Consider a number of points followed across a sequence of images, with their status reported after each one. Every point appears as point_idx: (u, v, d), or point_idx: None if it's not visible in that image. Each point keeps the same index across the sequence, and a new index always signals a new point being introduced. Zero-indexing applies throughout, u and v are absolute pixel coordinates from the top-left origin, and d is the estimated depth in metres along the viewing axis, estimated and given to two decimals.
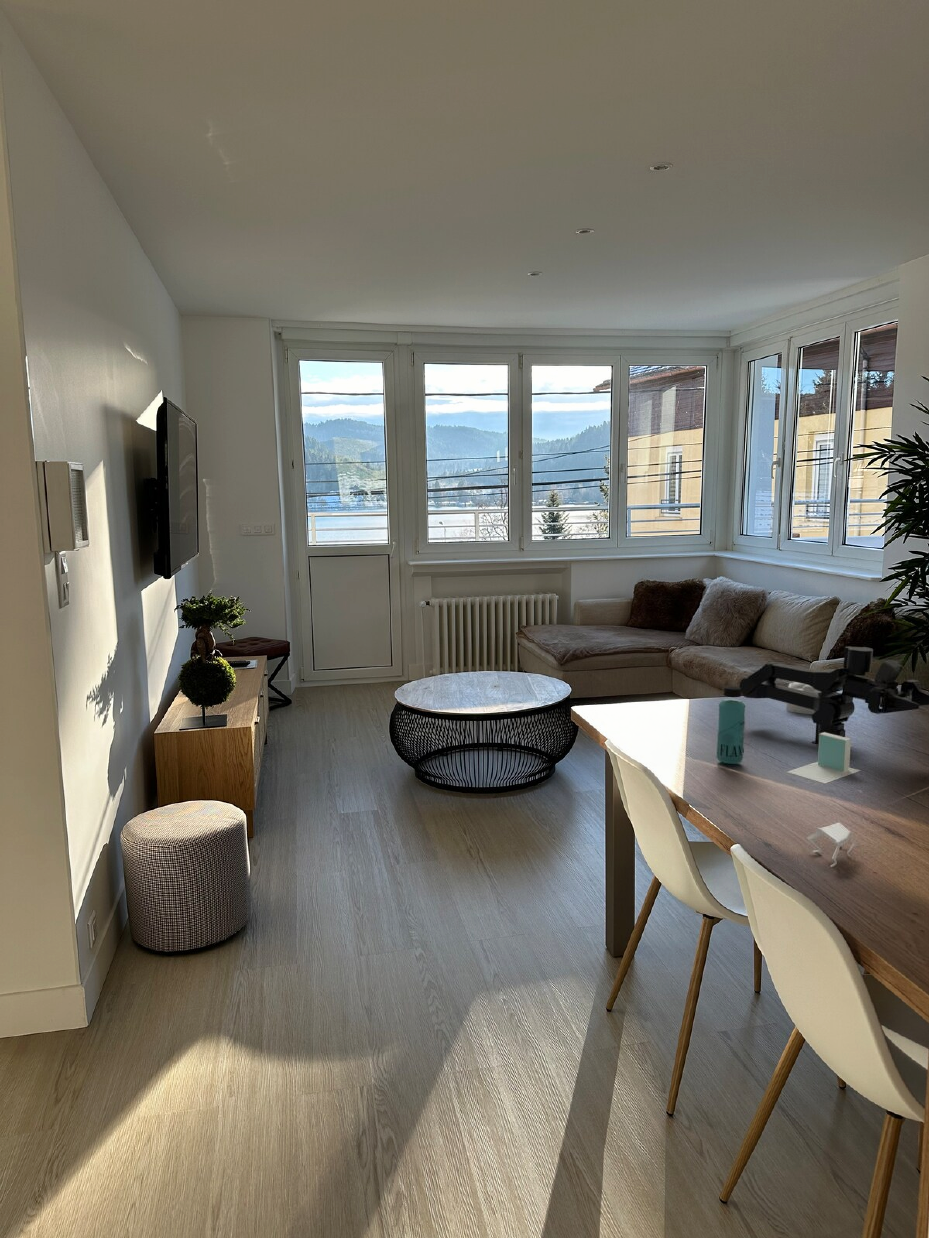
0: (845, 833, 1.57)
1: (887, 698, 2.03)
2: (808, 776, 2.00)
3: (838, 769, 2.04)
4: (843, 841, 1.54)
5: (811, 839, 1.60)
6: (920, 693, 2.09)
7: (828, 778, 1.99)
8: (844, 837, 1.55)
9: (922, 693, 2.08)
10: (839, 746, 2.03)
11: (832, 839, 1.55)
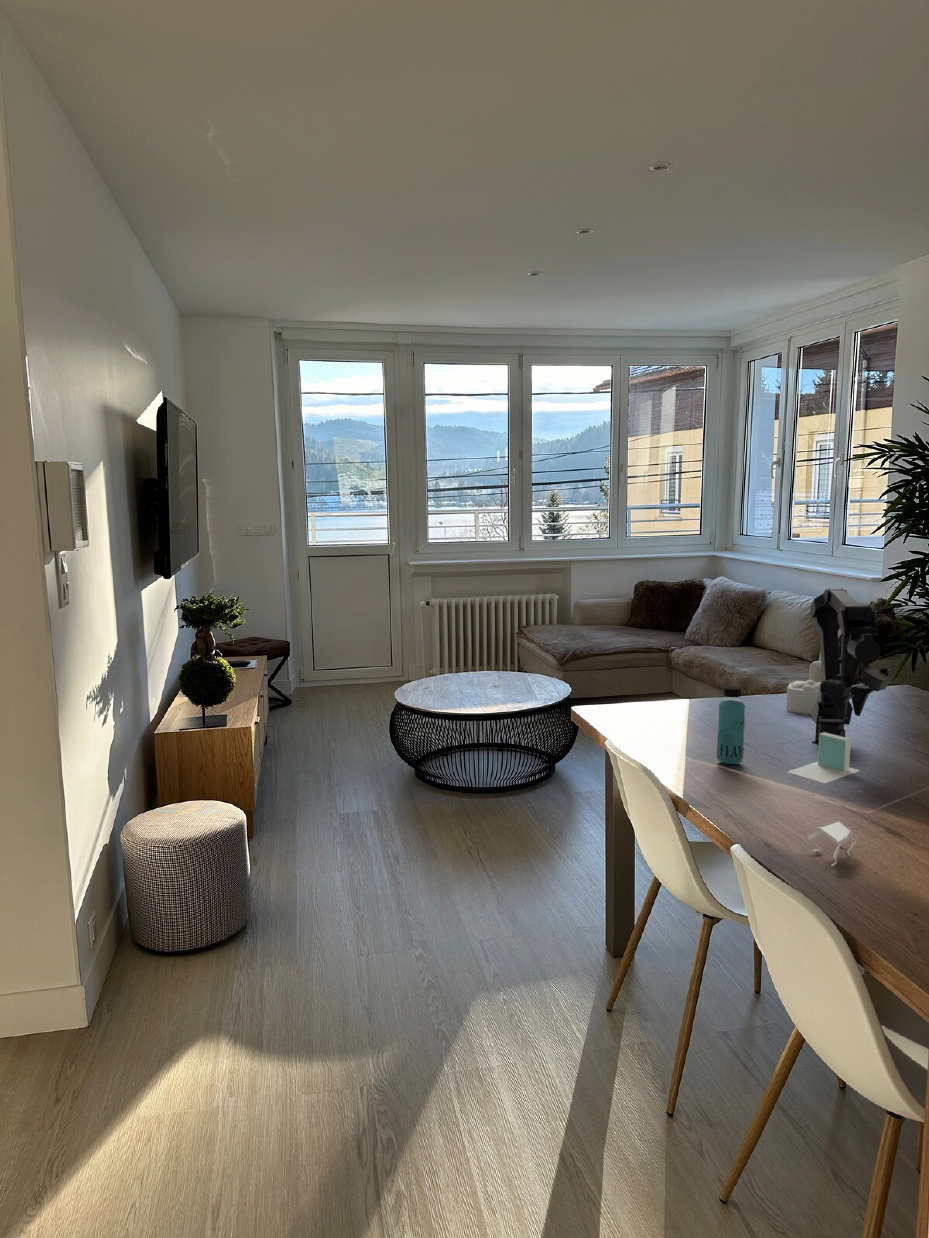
0: (845, 832, 1.57)
1: None
2: (808, 776, 2.00)
3: (838, 769, 2.04)
4: (843, 840, 1.54)
5: (811, 838, 1.60)
6: (863, 696, 2.08)
7: (828, 778, 1.99)
8: (845, 837, 1.55)
9: (863, 699, 2.08)
10: (839, 746, 2.03)
11: (832, 838, 1.55)
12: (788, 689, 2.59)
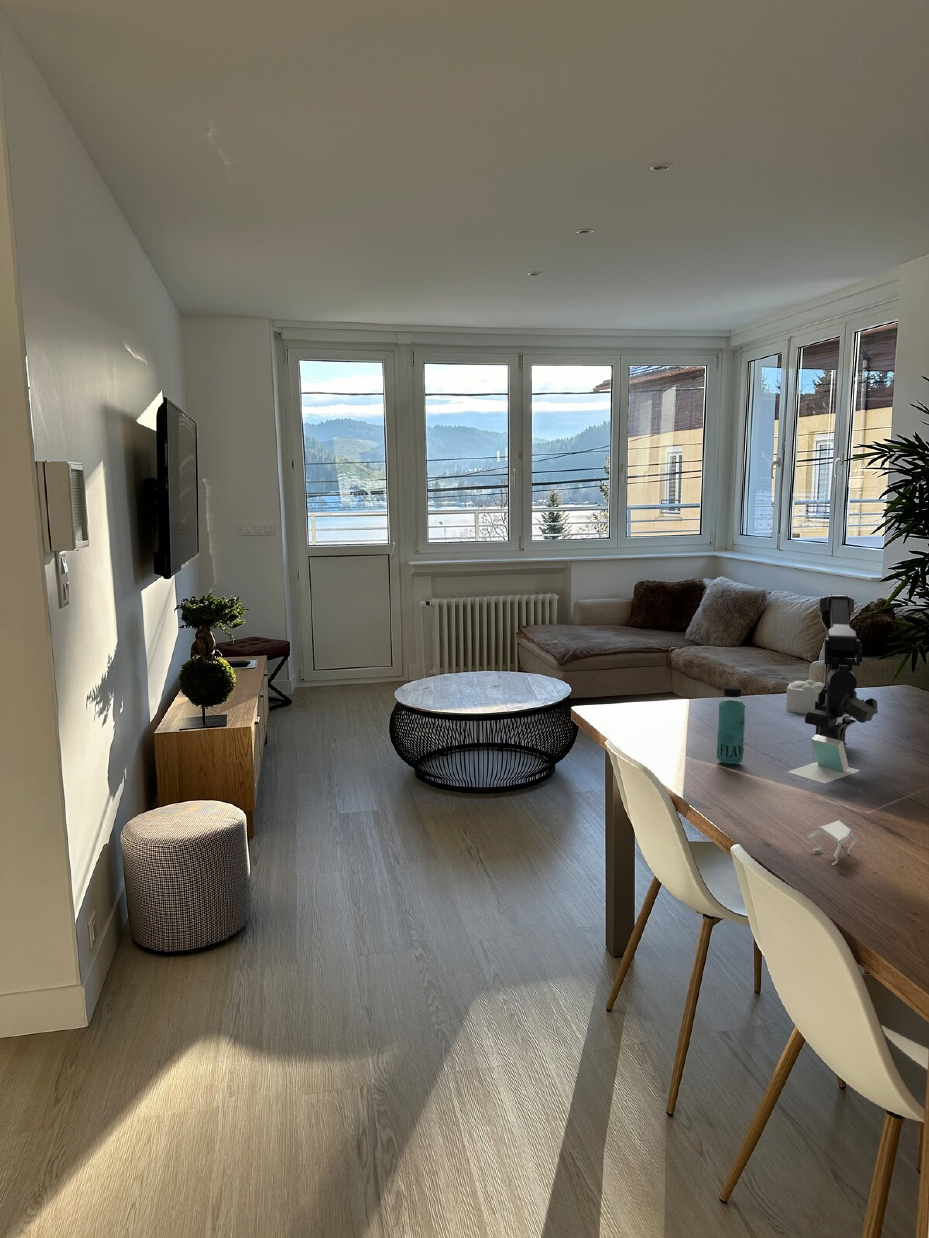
0: (846, 831, 1.57)
1: None
2: (808, 776, 2.00)
3: (838, 769, 2.03)
4: (844, 839, 1.55)
5: (812, 837, 1.61)
6: (841, 729, 2.04)
7: (828, 778, 1.99)
8: (845, 835, 1.56)
9: (841, 731, 2.04)
10: (833, 750, 2.01)
11: (833, 837, 1.56)
12: (788, 689, 2.59)
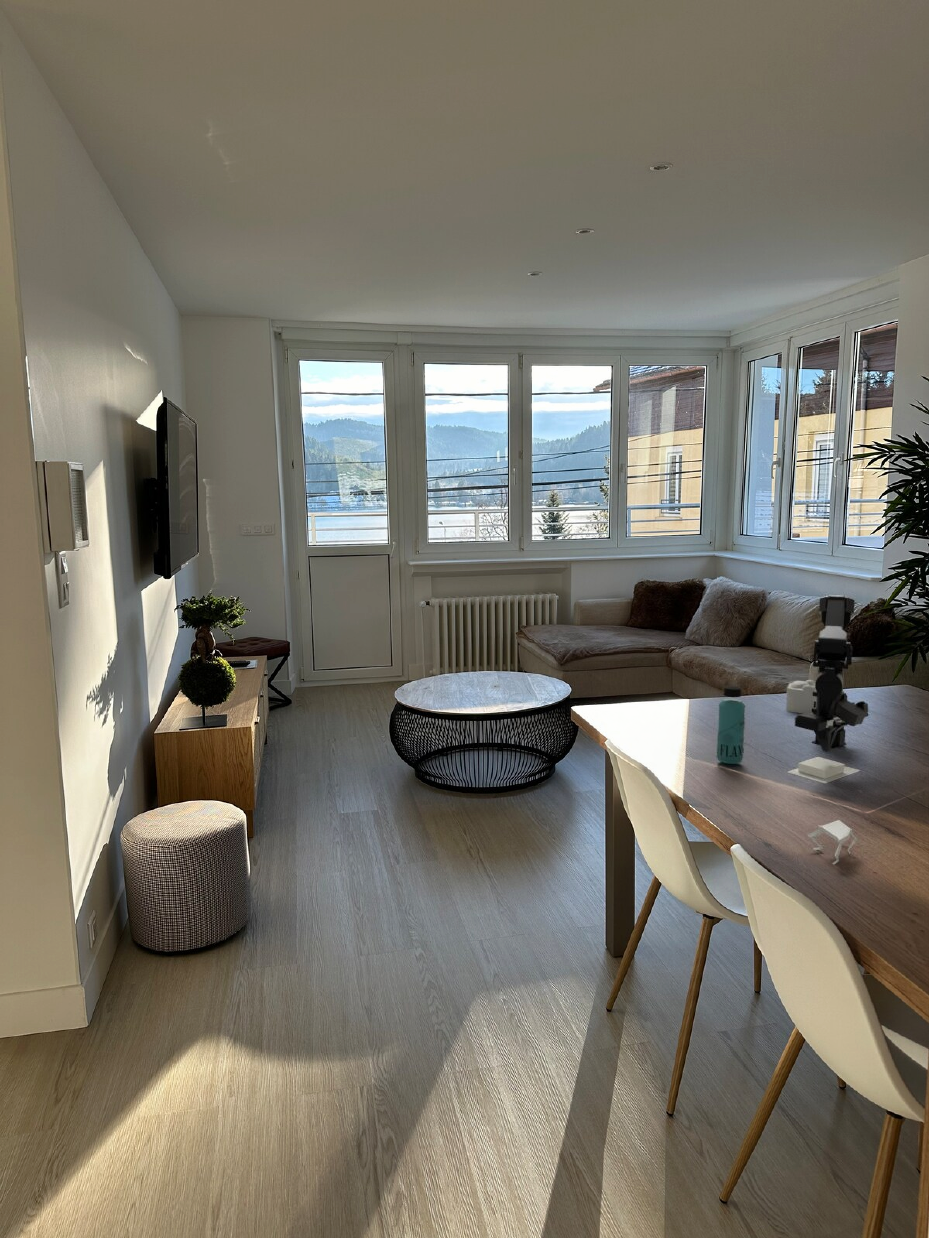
0: (846, 830, 1.58)
1: None
2: (808, 776, 2.00)
3: None
4: (845, 838, 1.55)
5: (812, 837, 1.61)
6: (832, 732, 2.02)
7: (828, 778, 1.99)
8: (846, 835, 1.56)
9: (832, 735, 2.02)
10: None
11: (834, 837, 1.56)
12: (788, 689, 2.59)
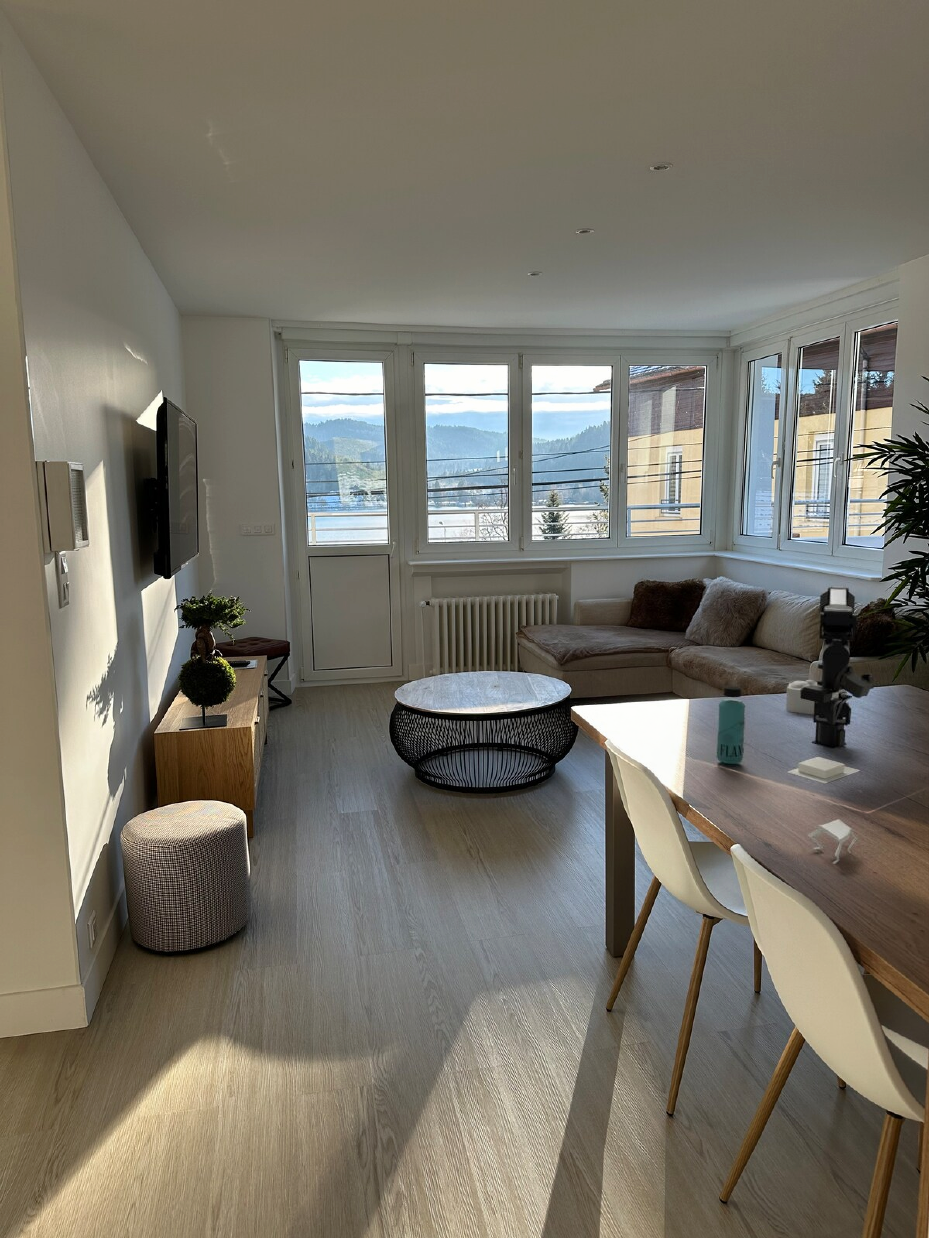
0: (846, 830, 1.58)
1: None
2: (808, 776, 2.00)
3: None
4: (845, 838, 1.55)
5: (812, 836, 1.61)
6: (837, 704, 2.02)
7: (828, 778, 1.99)
8: (846, 834, 1.56)
9: (837, 707, 2.02)
10: None
11: (834, 836, 1.56)
12: (788, 689, 2.59)
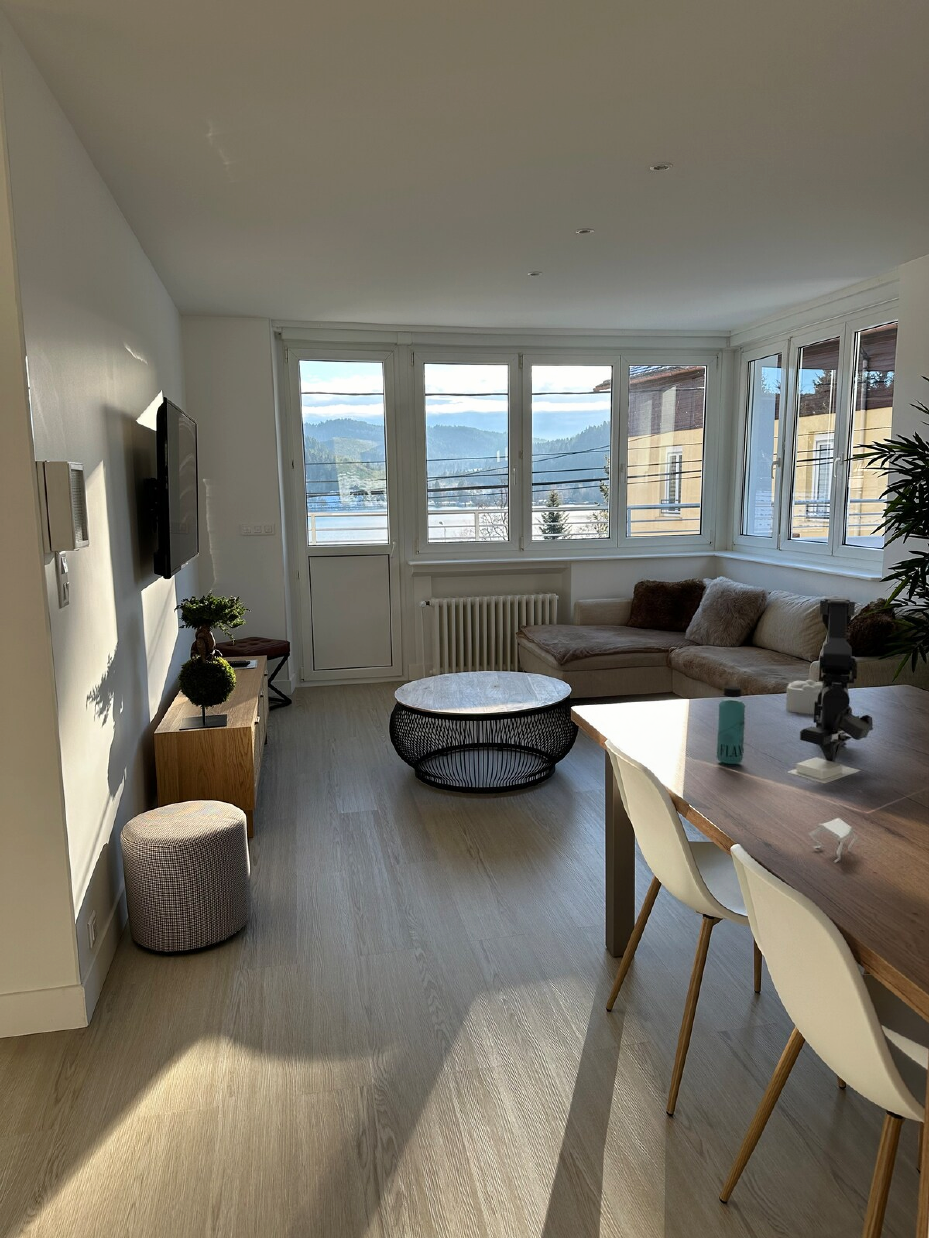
0: (846, 828, 1.59)
1: None
2: (808, 776, 2.00)
3: None
4: (846, 836, 1.56)
5: (813, 835, 1.62)
6: (836, 745, 2.04)
7: (828, 778, 1.99)
8: (847, 833, 1.57)
9: (836, 748, 2.04)
10: None
11: (835, 835, 1.57)
12: (788, 689, 2.59)
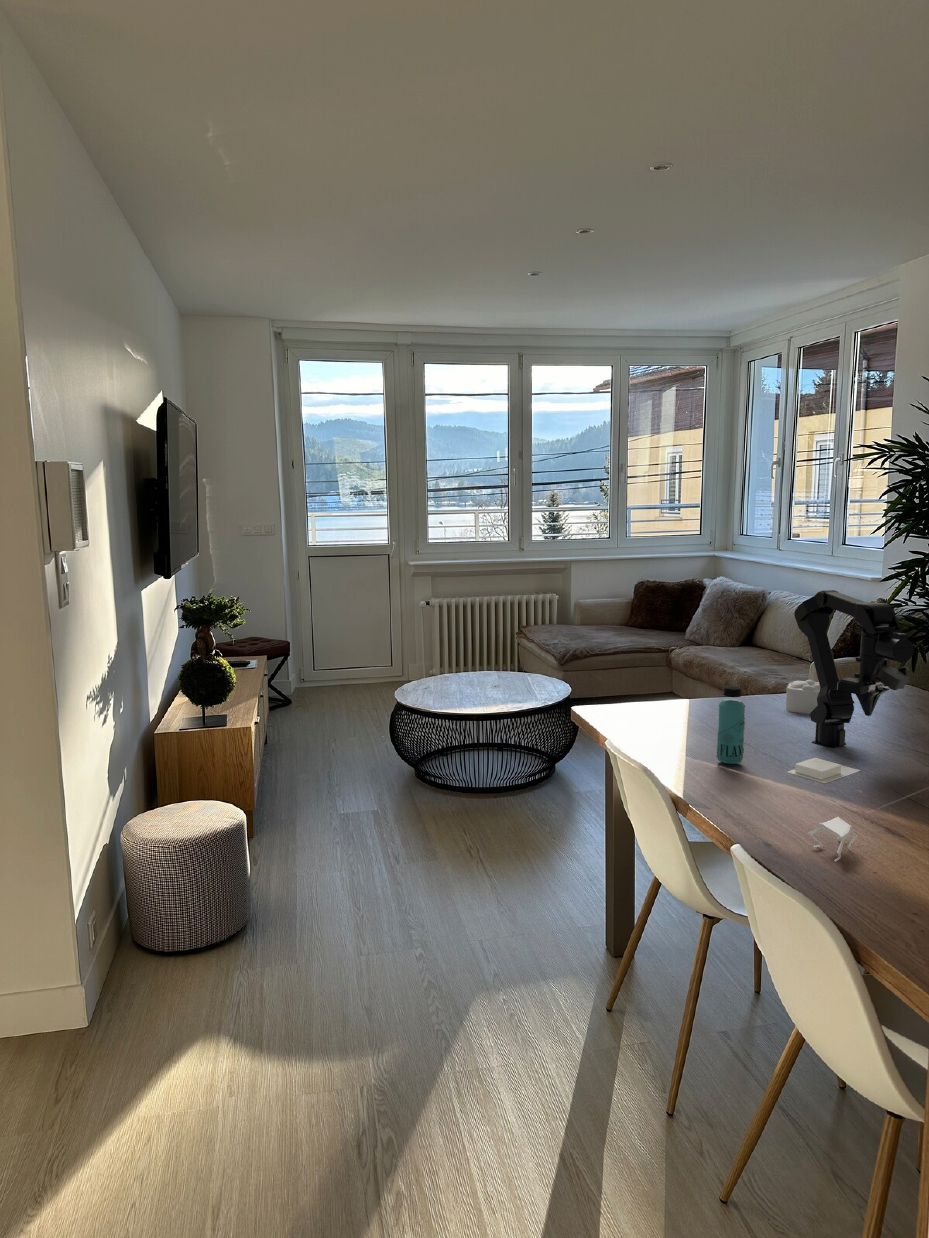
0: (846, 827, 1.59)
1: None
2: (808, 776, 2.00)
3: None
4: (846, 835, 1.56)
5: (813, 834, 1.62)
6: (874, 696, 2.09)
7: (828, 778, 1.99)
8: (847, 832, 1.57)
9: (874, 699, 2.09)
10: None
11: (835, 834, 1.57)
12: (788, 689, 2.59)
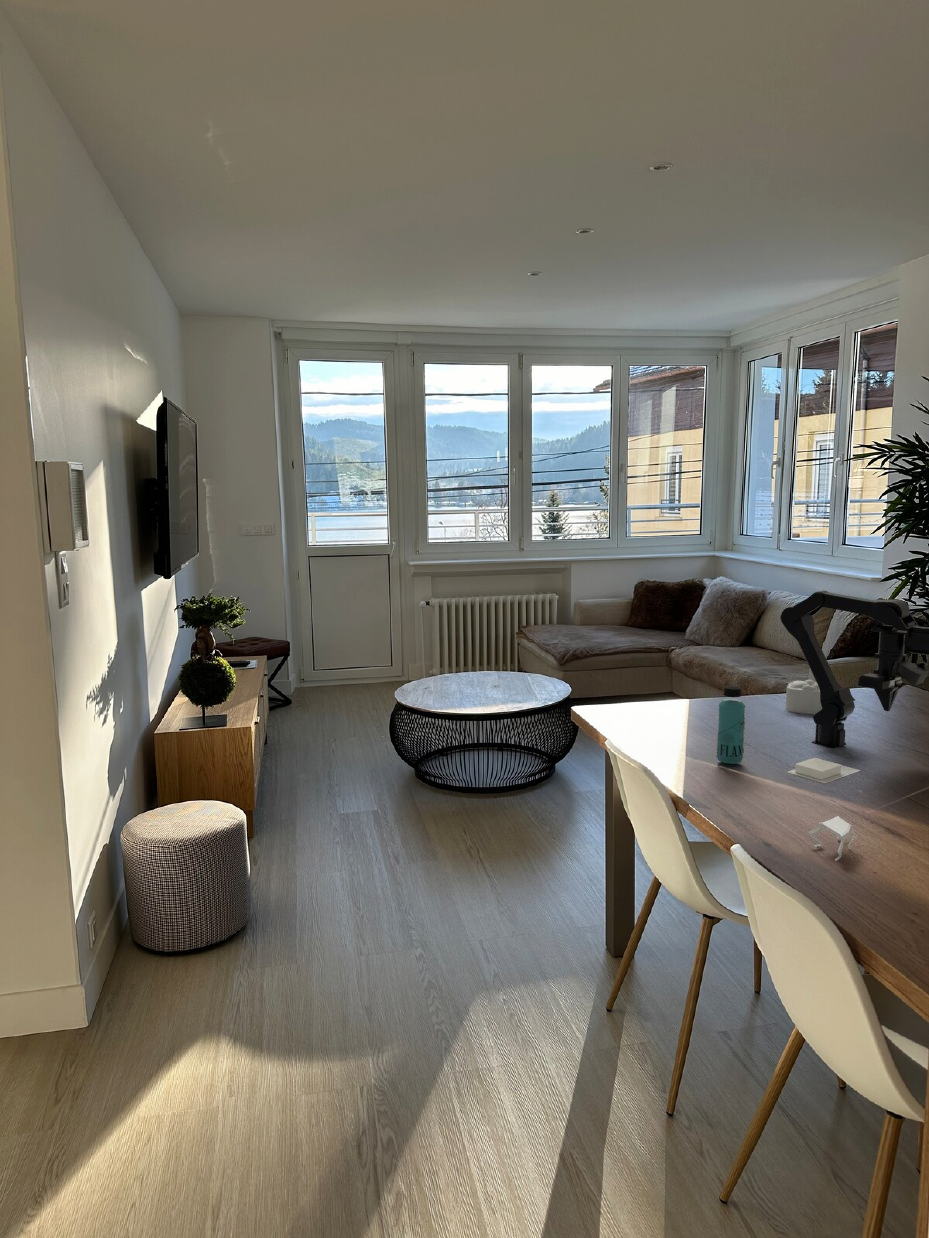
0: (846, 827, 1.59)
1: None
2: (808, 776, 2.00)
3: None
4: (846, 835, 1.57)
5: (813, 834, 1.62)
6: (893, 692, 2.12)
7: (828, 778, 1.99)
8: (847, 831, 1.57)
9: (893, 694, 2.12)
10: None
11: (835, 833, 1.57)
12: (788, 689, 2.59)
